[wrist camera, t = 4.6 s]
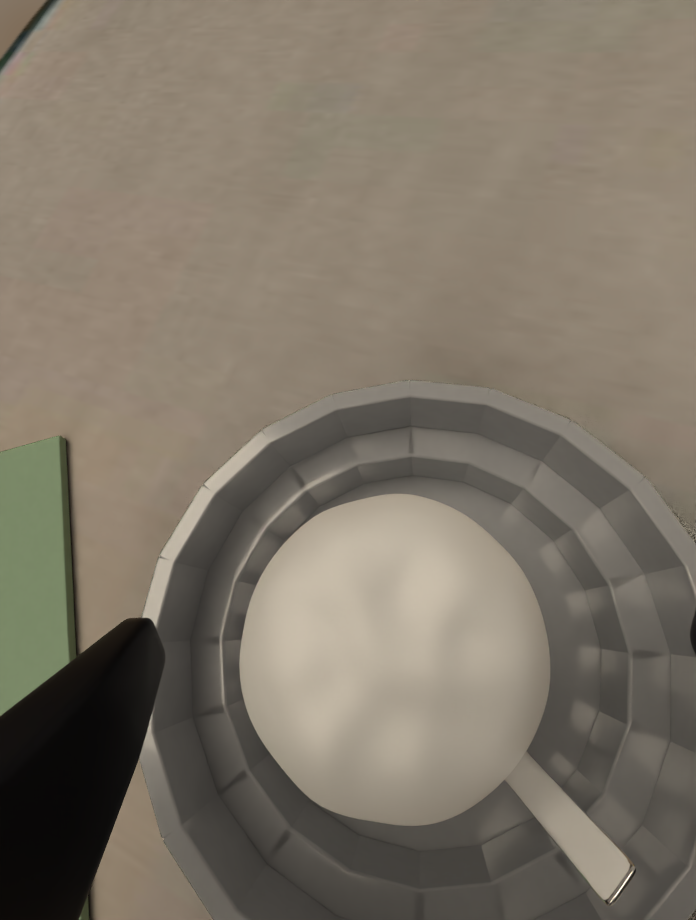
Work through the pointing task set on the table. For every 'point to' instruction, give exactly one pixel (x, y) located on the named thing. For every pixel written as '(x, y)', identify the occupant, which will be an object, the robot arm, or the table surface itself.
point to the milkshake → (409, 674)
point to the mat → (35, 571)
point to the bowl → (571, 669)
